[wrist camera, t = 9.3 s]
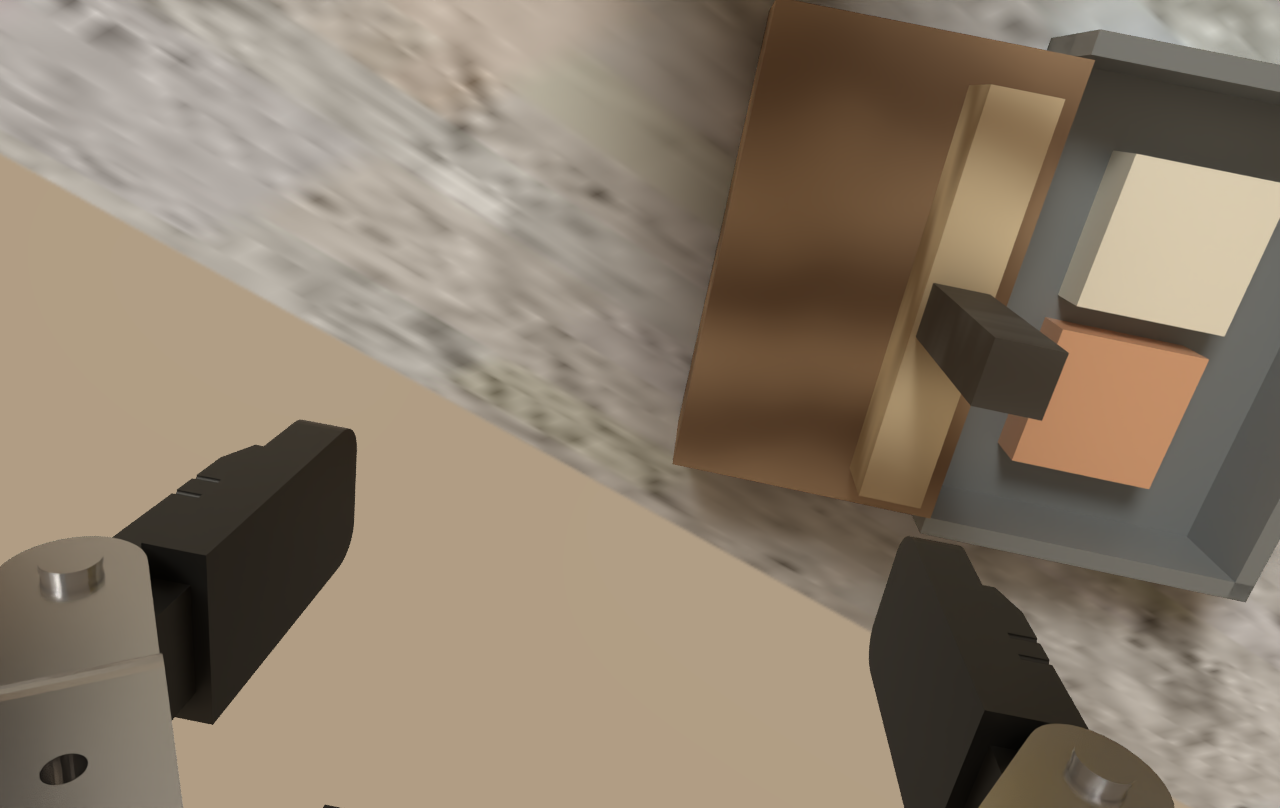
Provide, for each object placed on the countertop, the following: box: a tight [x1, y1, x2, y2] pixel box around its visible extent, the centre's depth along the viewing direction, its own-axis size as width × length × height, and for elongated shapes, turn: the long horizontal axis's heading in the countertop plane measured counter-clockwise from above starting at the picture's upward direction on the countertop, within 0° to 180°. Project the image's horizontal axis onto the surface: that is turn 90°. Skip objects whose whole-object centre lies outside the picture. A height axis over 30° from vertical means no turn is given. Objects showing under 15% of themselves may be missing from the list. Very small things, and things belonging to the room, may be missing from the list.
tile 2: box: [1058, 151, 1280, 337], centre depth 33 cm, size 6×6×2 cm
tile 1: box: [998, 317, 1209, 489], centre depth 36 cm, size 6×6×2 cm
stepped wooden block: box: [673, 0, 1095, 518], centre depth 34 cm, size 18×11×5 cm, turn 169°
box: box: [912, 30, 1280, 602], centre depth 34 cm, size 20×14×4 cm
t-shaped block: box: [850, 84, 1069, 508], centre depth 27 cm, size 15×2×10 cm, turn 169°
